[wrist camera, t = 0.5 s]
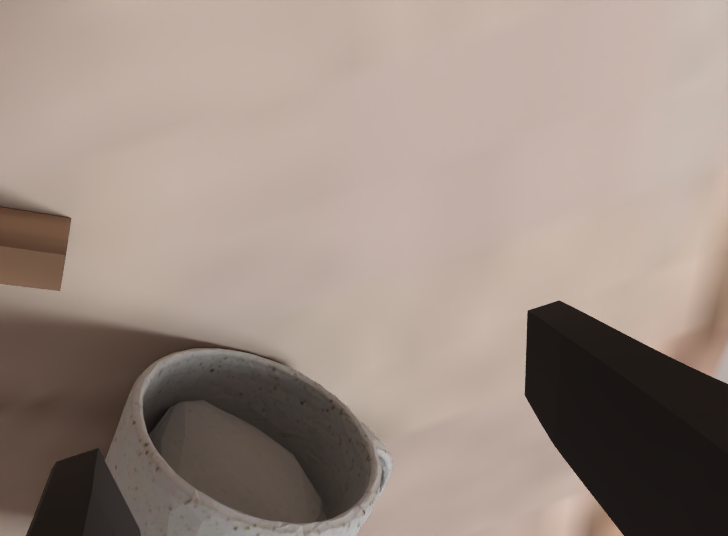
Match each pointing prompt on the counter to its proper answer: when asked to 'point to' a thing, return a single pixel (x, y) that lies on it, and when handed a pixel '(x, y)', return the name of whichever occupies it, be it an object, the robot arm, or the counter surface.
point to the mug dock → (32, 248)
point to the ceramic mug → (242, 451)
